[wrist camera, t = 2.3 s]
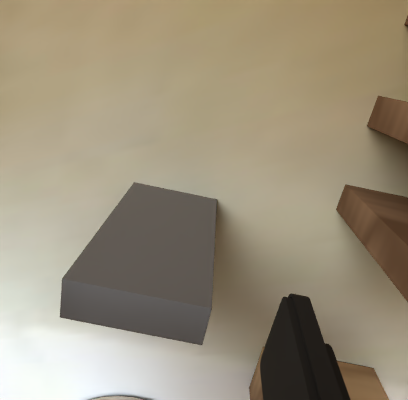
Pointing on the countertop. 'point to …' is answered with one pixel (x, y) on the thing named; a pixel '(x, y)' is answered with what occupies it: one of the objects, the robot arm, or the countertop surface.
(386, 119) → the domino
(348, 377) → the end block
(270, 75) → the countertop surface
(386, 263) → the domino
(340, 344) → the countertop surface
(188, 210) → the domino
